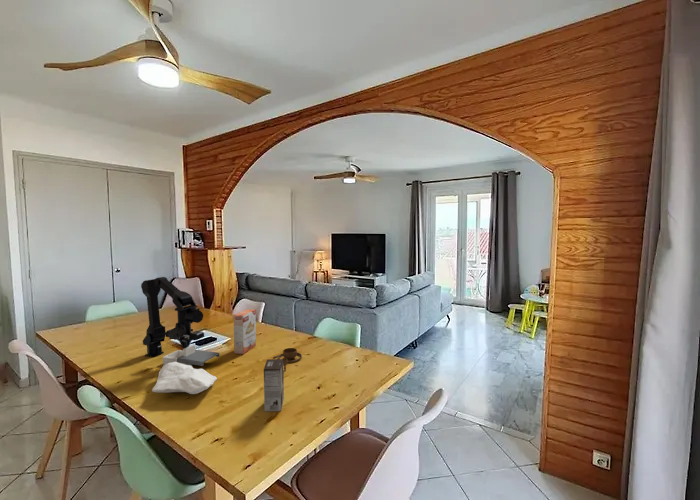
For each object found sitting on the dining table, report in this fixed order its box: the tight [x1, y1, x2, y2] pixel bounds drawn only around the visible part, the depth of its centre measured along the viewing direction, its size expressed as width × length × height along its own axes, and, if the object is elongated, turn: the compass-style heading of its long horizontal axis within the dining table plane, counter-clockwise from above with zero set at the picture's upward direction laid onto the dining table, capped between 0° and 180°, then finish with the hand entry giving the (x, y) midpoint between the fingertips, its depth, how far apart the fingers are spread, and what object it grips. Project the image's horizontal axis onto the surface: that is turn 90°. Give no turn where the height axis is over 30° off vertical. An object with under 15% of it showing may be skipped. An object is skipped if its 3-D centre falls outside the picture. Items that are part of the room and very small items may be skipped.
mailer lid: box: [177, 344, 221, 367], centre depth 165 cm, size 15×12×6 cm
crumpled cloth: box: [151, 362, 218, 395], centre depth 141 cm, size 24×35×9 cm
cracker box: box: [233, 308, 257, 355], centre depth 184 cm, size 14×6×21 cm, turn 168°
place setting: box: [273, 347, 303, 372], centre depth 169 cm, size 18×20×6 cm
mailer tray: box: [162, 349, 193, 366], centre depth 168 cm, size 14×10×4 cm
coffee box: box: [263, 358, 285, 412], centre depth 128 cm, size 9×6×16 cm
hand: (185, 351), depth 167 cm, fingers closed
